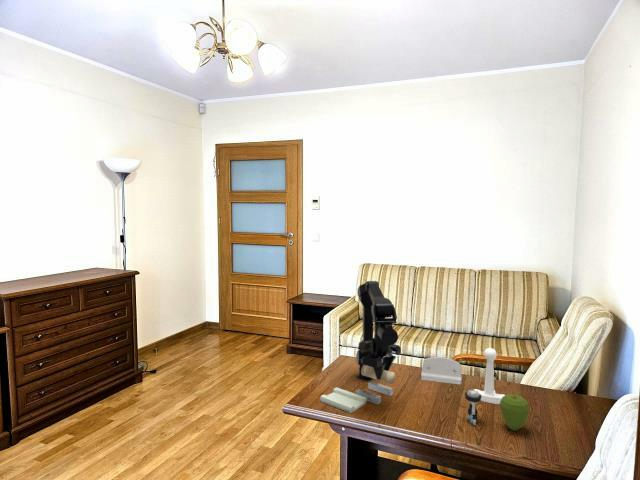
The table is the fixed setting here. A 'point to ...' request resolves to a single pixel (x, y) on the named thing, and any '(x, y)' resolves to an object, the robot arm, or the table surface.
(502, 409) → the apple
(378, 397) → the steel guide
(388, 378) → the maple axle
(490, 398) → the joystick
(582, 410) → the table surface
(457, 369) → the gray wall bracket
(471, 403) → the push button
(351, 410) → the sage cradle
